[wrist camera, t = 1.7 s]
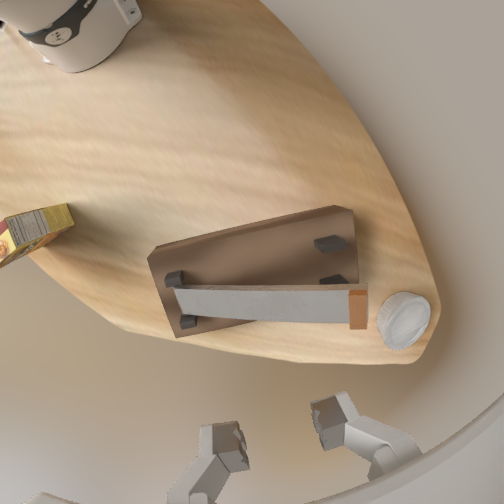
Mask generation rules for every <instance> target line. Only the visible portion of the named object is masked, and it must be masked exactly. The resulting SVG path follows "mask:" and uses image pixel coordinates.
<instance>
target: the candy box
mask: <svg viewBox="0 0 504 504" xmlns="http://www.w3.org/2000/svg"><path fill="white" fill-rule="evenodd" d="M73 225H75V223H74V221H73V219H72V217H71V214H70V212H69V209H68V207H67V204H66V203H64V204H59V205H55V206H50V207H45V208H41V209H37V210H33V211H29V212H25V213H21V214H17V215H13V216H9V217H6V218H4V219H3V220H2V221H1V222H0V268H2V267H4V266H5V265H7V264H9V263H11V262H13V261H15V260H17V259H19V258H21V257H23V256H25V255H27V254H29V253H31V252H33V251H35V250H37V249H39V248H41V247H43V246H44V245H46V244H47V243H49V242H50V241H52V240H53V239H54V238H56V237H57V236H59V235H60V234H62V233H63V232H64V231H66V230H67V229H69V228H70V227H72V226H73Z"/></svg>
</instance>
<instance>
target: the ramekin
mask: <svg viewBox="0 0 504 504" xmlns="http://www.w3.org/2000/svg"><path fill="white" fill-rule="evenodd" d="M430 314H431V310H430V305H429V302H428V301H427V300H426V299H425V298H424V297H422V296H420V295H415V294H412V293H410V292H406V291H402V292H398V293H396V294H394V295H392V296H390V297H389V298H388V299H387V300H386V301H385V302H384V303H383V305H382V306H381V308H380V310H379V312H378V316H377V328H378V331H379V332H380V334H381V336H382V338H383V341H384V343H385V344H386V346H387V347H388V348H390V349H392V350H401V349H405V348H407V347H409V346H410V345H412V344H413V343H414V342H415V341H417V340H418V339H419V337H420V336H421V335H422V334H423V332H424V331H425V329H426V327H427V325H428V323H429V319H430Z"/></svg>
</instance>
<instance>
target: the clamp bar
mask: <svg viewBox="0 0 504 504" xmlns="http://www.w3.org/2000/svg"><path fill="white" fill-rule="evenodd" d="M173 289H174V292H175V295H176V298H177V301H178V304H179V307H180V309H181V312H182V315H183V316H187V315H199V316H209V317H220V318H232V319H245V320H260V321H278V322H302V323H350V329H367V323H368V283H364V284H332V285H183V284H181V285H177V286H173Z"/></svg>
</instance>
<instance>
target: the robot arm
mask: <svg viewBox="0 0 504 504" xmlns="http://www.w3.org/2000/svg"><path fill="white" fill-rule="evenodd" d="M133 12H134V13H133ZM132 13H133V14H132ZM141 19H142V13H141V11H140V9H139V6H138V4H137V2H136V0H0V20H2V21H4V22H6V23H8V24H10V25H12V26H13V27H15V28H17V29H18V30H19V33H20V34H21V35H22V36H23V37H24V38H25V39H26V40H28V41H30V44H31V46H32V47H33V48H35V49H36V50H37V51H38V52H39V53H40V54H42V55H43V61H44V62H45V63H46V64H54V65H56V66H57V67H58V68H60V69H61V70H62V71H65V72H70V73H74V72H80V71H84V70H86V69H89V68H91V67H93V66H95V65H97V64H98V63H100V62H101V61H103V60H104V59H105V58H107V57H108V56H109V55H110V54H111V53H112V52H113V51H114V50H115V49H116V48H117V47H118V46H119V44H120V43H121V42H122V40H123V38H124V37H125V35H126V34H127V32H128V31H129V30H130V29H131V28H132V27H133V26H134V25H136V24H137V23H138V22H139V21H140V20H141ZM310 404H311V409H312V419H313V424H314V427H315V429H316V432H317V433H319V439H320V442H321V445H322V447H323V449H324V451H327V450H330V449H333V448H336V447H339V446H342V445H344V446H345V447H346V448H348V449H350V450H351V451H353V452H354V453H356V454H358V455H359V456H361V457H363V458H364V459H366V460H368V461H370V462H371V467H370V470H369V473H368V479H369V482H367V483H365V484H362V485H360V486H357V487H355V488H352V489H349V490H347V491H344V492H341V493H338V494H335V495H332V496H329V497H326V498H323V499H320V500H316V501H312V502H309V503H306V504H504V393H503V394H502V395H501V396H500V397H499V398H498V399H497V400H496V401H495V402H494V403H492V404H491V405H490V406H489V407H488V408H487V409H486V410H484V411H483V412H482V413H481V414H480V415H479V416H477V417H476V418H475V419H474V420H472V421H471V422H470V423H468V424H467V425H466V426H465V427H463V428H462V429H461V430H459V431H458V432H456V433H455V434H454V435H452V436H451V437H449V438H448V439H446V440H445V441H443V442H442V443H440V444H439V445H437V446H436V447H434V448H433V449H431V450H429V451H428V452H426V453H424V454H422V452H421V451H420V449H419V448H418V446H417V445H416V443H415V442H414V440H413V439H412V437H411V436H410V434H409V433H406V432H403V431H401V430H398V429H396V428H393V427H391V426H388V425H386V424H383V423H380V422H378V421H376V420H374V419H371V418H369V417H367V416H365V415H364V416H362V417H361V416H360V414H359V412H358V411H357V409H356V407H355V406H354V404H353V402H352V400H351V398H350V397H349V395H348V393H347V392H346V391H342V392H340V393H337V394H334V395H331V396H327V397H325V398H322V399H319V400H316V401H313V402H311V403H310ZM246 450H247V446H246V441H245V437H244V434H243V432H242V430H240V426H239V423H238V421H231V422H224V423H216V424H208V425H201V428H200V456H196V458H195V459H194V460H193V461H192V463H191V464H190V465H189V467H188V468H187V469H186V470H185V472H184V473H183V474H182V475H181V477H180V478H179V479H178V480H177V482H176V483H175V484H174V485H173V486H172V488H171V489H170V490H169V491H168V492H167V504H216V503H215V500H216V499H217V497H218V495H219V493H220V492H221V490H222V488H223V486H224V485H225V483H226V481H227V479H228V477H229V475H230V473H233V472H239V471H245V470H249V469H250V467H249V460H248V456H247V454H246ZM23 504H79V503H75V502H72V501H69V500H66V499H62V498H59V497H56V496H53V495H51V494H48V493H44V492H40V493H38V494H36V495H34V496H33V497H31V498H30V499H28V500H27V501H25V502H24V503H23Z"/></svg>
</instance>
